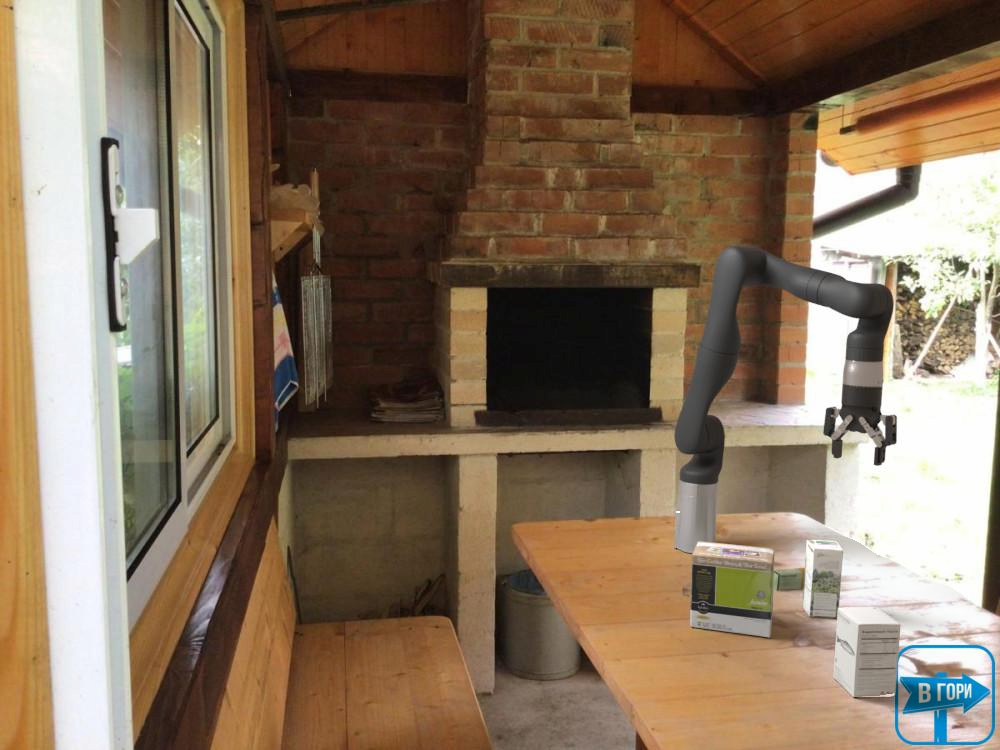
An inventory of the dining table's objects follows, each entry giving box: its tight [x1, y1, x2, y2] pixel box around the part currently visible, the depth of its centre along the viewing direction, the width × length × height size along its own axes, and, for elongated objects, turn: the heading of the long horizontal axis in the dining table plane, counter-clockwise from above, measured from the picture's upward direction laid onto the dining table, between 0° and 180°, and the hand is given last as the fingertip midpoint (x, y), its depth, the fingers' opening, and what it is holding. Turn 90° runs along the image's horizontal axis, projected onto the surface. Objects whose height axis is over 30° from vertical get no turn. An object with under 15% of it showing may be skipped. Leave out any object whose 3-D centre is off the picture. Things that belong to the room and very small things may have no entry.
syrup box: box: [802, 539, 844, 619], centre depth 176 cm, size 6×6×14 cm
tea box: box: [689, 541, 775, 638], centre depth 170 cm, size 15×10×15 cm
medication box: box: [773, 567, 805, 592], centre depth 192 cm, size 12×3×4 cm, turn 108°
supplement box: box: [832, 606, 902, 698], centre depth 144 cm, size 7×7×13 cm
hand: (857, 461), depth 179 cm, fingers open, 8 cm apart
